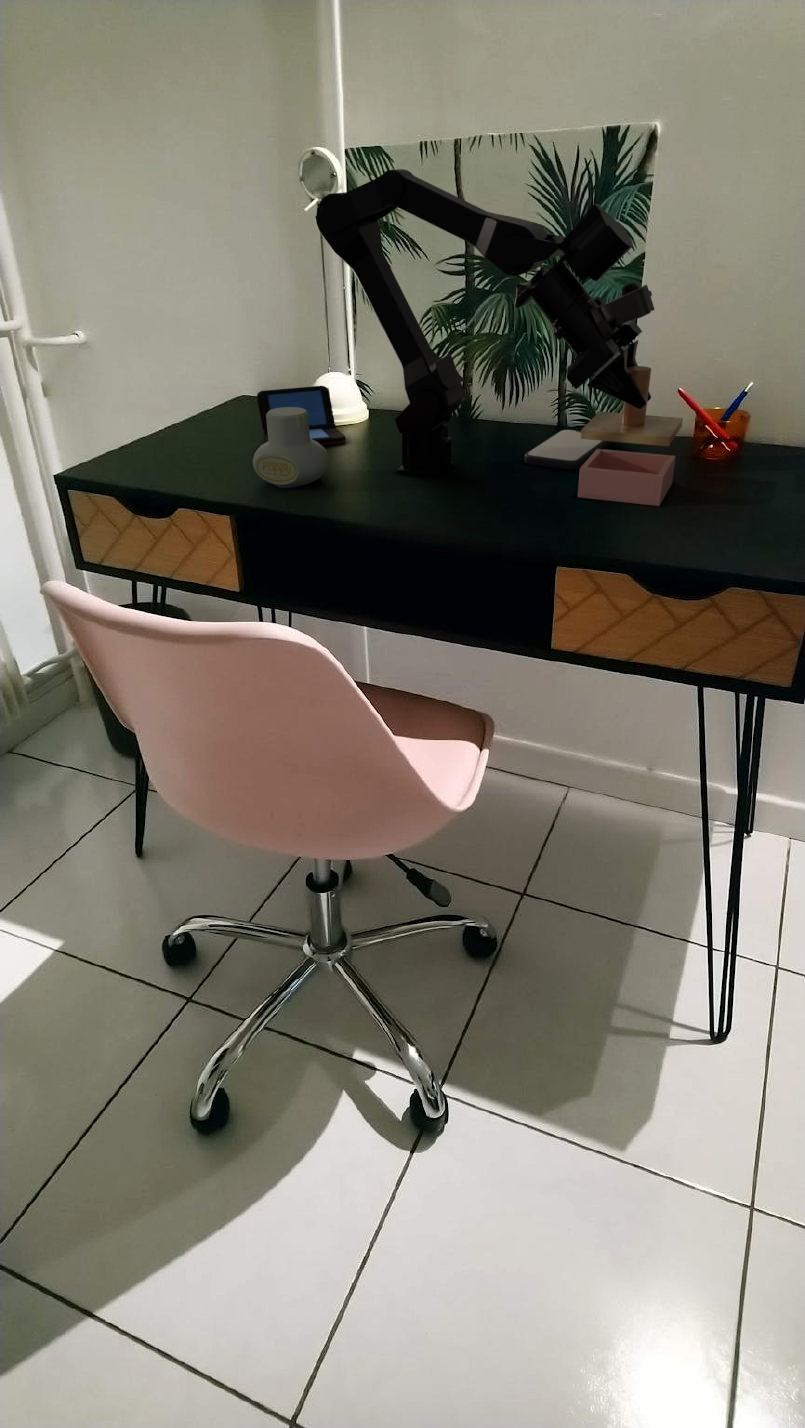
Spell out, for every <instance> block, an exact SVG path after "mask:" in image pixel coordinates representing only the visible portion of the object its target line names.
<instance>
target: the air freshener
mask: <svg viewBox="0 0 805 1428" xmlns="http://www.w3.org/2000/svg"><path fill="white" fill-rule="evenodd" d="M266 419H267V430H268V442H267V441H266V442H264V443H263V444H261V445H260V446H259V447H258V448H257V449H256V450H255V453H254V455H253V458H252V466H253V469H254V471H255V473H256V474H257V475H258V476H259V477H260V478H261V479H262V480H263V481H265V482H267V483H268V484H272V485H273V486H275V487H278V488H282V489H290V488H291V489H293V488H298V487H302V486H307V485H309V484H312V483H314V482H315V481H317V480H318V479H320V478H321V477H323V475H324V474H325V473H326V472H327V470H328V468H329V466H330V457H329V454H328V451H327V450H326V448H325V447H324V445H320V444H319V443H318V442H316V441H314V440H312V439H310V432H309V420H308V412H307V411H306V410H305V409H303V408H298V407H282V408H276V409H272V410H270V411H268V413H267V414H266Z"/></svg>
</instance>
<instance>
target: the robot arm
mask: <svg viewBox="0 0 805 1428" xmlns="http://www.w3.org/2000/svg"><path fill="white" fill-rule="evenodd" d="M397 209H400V210H402V211H404V212H406V213H408V214H410V215H411V216H414V217H416V218H418V219H421V220H423V221H425V222H426V223H428V224H430V225H431V226H434V227H436V228H439V229H441V230H442V231H444V232H446V233H449V234H451V235H452V236H454V237H457V238H459V239H461V240H463V241H464V242H467V243H468V244H470V246H472V247H474V248H475V249H476V250H477V251H478V252H479V253H480V255H481V256H482V257H483V258H484V259H486V261H488V262H489V263H490V264H492V265H493V266H494V267H495V268H497V269H498V270H500V271H501V272H502V273H503V274H505V275H508V276H511V277H513V276H514V277H517V276H521V275H524V274H526V273H529V272H532V271H534V270H536V269H538V268H539V267H540V266H542V265H543V264H544V262H545V261H548V260H551V259H554V258H556V257H559V256H561V258H559V259H558V260H557V261H556V263H555V264H554V265H552V267H550V268H548V267H546V266H542V267H541V268H540V269H538V271H537V272H535V274H534V275H533V276H532V277H531V278H530V279H529V280H528V281H527V282H519V283H516V285H515V291H516V292H515V293H516V294H515V301H514V306H515V308H517V309H518V308H522V307H524V306H525V305H527V304H528V303H529V302H530V301H531V300H532V301H533V303H534V304H535V306H537V308H538V309H539V310H540V312H541V313H542V314H543V315H544V316H545V318H546V319H547V320H548V321H549V322H550V324H551V325H552V326H553V328H554V329H555V330H556V331H555V332H554V333H553V335H554V337H556V339H557V340H558V341H560V340H562V339H563V340H564V342H565V343H566V344H567V345H568V346H569V347H570V349H571V350H572V351H573V352H574V354H575V355H576V357H574V358H573V360H574V361H572V362H571V363H570V364H569V365H568V366H567V368H566V380H567V381H568V382H569V383H570V385H571V386H572V387H573V388H574V390H578V389H579V388H580V387H581V386H582V385H583V384H584V383H585V382H586V381H588V380H589V378H591V377H592V376H593V378H592V379H591V380H590V381H589V382H588V383H586V386H587V387H588V388H593V389H595V390H598V391H600V392H602V393H605V394H606V395H609V396H611V397H612V398H616V399H618V400H620V401H622V402H623V403H624V402H626V403H628V404H630V405H632V406H634V407H636V408H638V409H641V408H643V407H644V406H645V405H646V401H645V399H644V397H643V395H642V393H641V391H640V389H639V388H638V386H637V384H636V382H635V381H634V379H633V377H632V375H631V374H630V372H629V370H628V369H627V368H628V367H632V366H639V364H638V363H637V360H636V355H637V349H638V345H639V339H636V338H637V337H638V336H639V335H641V333H643V330H642V329H641V328H640V326H639V325H638V324H637V322H635V320H634V319H641V318H643V317H646V316H647V315H649V314H651V313H652V312H653V311H655V306H654V302H653V300H652V295H653V292H652V291H651V290H650V289H649V287H648V284H644V285H641V284H640V283H639V282H638V281H636V280H633V281H632V282H630V283H627V284H626V285H623V286H622V288H621V295H620V296H618V297H616V298H614V299H611V300H610V301H607V302H605V301H604V300H603V299H602V298H601V296H597V295H596V296H594V297H592V296H591V294H590V293H589V291H588V290H587V289H586V288H585V287H584V286H583V284H582V283H581V282H580V281H579V279H580V280H581V281H583V282H587V281H588V280H589V279H591V280H592V281H594V282H599V280H601V279H602V278H603V277H604V276H605V275H606V274H607V273H608V272H609V271H610V270H611V269H612V268H613V267H614V266H615V265H616V264H617V263H618V262H619V261H620V260H621V259H622V258H623V257H624V256H625V255H626V254H627V253H628V252H629V251H630V250H631V249H632V248H633V247H634V242H633V241H632V237H630V235H629V233H628V231H627V230H626V229H625V227H624V226H623V225H622V224H621V222H619V221H616V220H615V218H614V217H613V216H612V215H611V214H609V212H607V211H605V210H604V208H603V207H602V206H601V205H600V204H599V203H596V204H592V205H591V206H590V208H588V209H587V211H586V212H585V214H584V215H583V217H582V218H581V219H580V220H579V222H577V224H576V225H575V226H574V227H573V228H572V229H571V230H570V231H569V232H568V233H567V234H566V236H564V235H563V234H559V235H558V234H552V233H547V231H546V230H545V228H544V227H543V226H542V225H540V224H539V223H537V222H535V221H531V220H527V219H524V218H520V217H519V218H518V217H515V216H511V215H504V214H500V213H499V214H498V213H494V212H490V211H487V210H485V209H483V208H481V207H479V206H477V205H474V204H473V203H470V202H469V201H467V200H464V199H462V198H460V197H458V196H456V195H455V194H452V193H451V192H448V191H446V190H444V189H442V188H440V187H438V186H436V185H434V184H432V183H429V182H428V181H426V180H423V179H421V178H419V177H417V176H415V175H414V174H413V173H412V172H411V171H409V170H408V169H404V168H398V169H397V168H396V169H395V168H394V169H388V170H386V171H384V172H383V173H382V174H381V175H379V176H377V177H376V178H374V179H372V180H369V181H368V182H366V183H363V184H361V185H359V186H356V187H354V188H352V189H350V190H348V191H345V192H333V193H329V194H327V195H325V196H323V197H322V199H320V201H319V203H318V206H317V208H316V215H315V217H314V219H315V225H316V227H317V230H318V232H319V234H320V235H321V236H322V238H323V239H324V240H325V242H326V243H327V245H328V246H329V247H330V249H331V250H332V252H333V253H334V254H336V255H337V257H339V258H340V259H341V260H342V261H343V262H344V263H345V264H346V265H348V266H349V268H350V269H352V271H353V273H354V274H355V277H356V279H357V280H358V282H359V285H360V286H361V289H362V290H363V292H364V294H365V297H366V298H367V300H368V302H369V304H370V306H371V309H372V310H373V312H374V314H375V316H376V317H377V319H378V321H379V323H380V326H381V327H382V329H383V331H384V333H385V335H386V337H387V339H388V341H389V342H390V344H391V346H392V349H393V350H394V352H395V354H396V356H397V358H398V360H399V363H400V364H401V367H402V374H403V375H402V376H403V385H404V390H405V393H406V397H407V399H408V402H409V403H408V404H407V406H405V408H403V410H401V412H400V413H399V414H398V415H397V416H396V417H395V418H394V422H395V425H396V427H397V430H398V433H399V434H401V466H400V467H398V468H397V473H401V474H409V475H419V476H428V477H439V476H440V475H442V474H443V473H444V472H446V471H447V470H448V469H449V468H451V467H452V466H453V461H452V438H451V437H450V436H449V426H448V425H446V424H448V423H450V422H451V419H452V416H453V413H454V412H455V411H457V410H458V409H459V408H460V407H461V405H462V403H463V399H464V395H465V390H464V386H463V384H462V382H464V380H465V378H464V377H463V376H462V375H461V374H460V373H459V371H458V370H457V367H456V364H455V361H454V358H453V357H452V355H451V354H447V355H445V356H443V357H441V356H439V355H438V354H437V353H436V352H435V351H434V350H433V348H432V347H431V346H430V343H429V342H428V340H427V338H426V336H425V333H424V332H423V329H422V327H421V326H420V323H419V322H418V320H417V317H416V316H415V314H414V311H413V310H412V307H411V306H410V304H409V301H408V300H407V297H406V296H405V293H404V292H403V290H402V288H401V286H400V284H399V282H398V280H397V278H396V275H395V274H394V272H393V270H392V268H391V266H390V264H389V262H388V260H387V258H386V256H385V253H384V251H383V244H382V243H383V241H382V232H381V226H380V224H379V221H380V220H381V219H383V218H386V216H388V215H390V214H391V213H392V212H394V211H395V210H397ZM567 265H568V266H567ZM578 278H579V279H578ZM635 339H636V340H635ZM634 340H635V341H634ZM632 342H633V343H632ZM629 344H630V346H629ZM651 399H652V395H651V393H650V391H649V392H648V400H647V403H649V401H650V400H651Z"/></svg>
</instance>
